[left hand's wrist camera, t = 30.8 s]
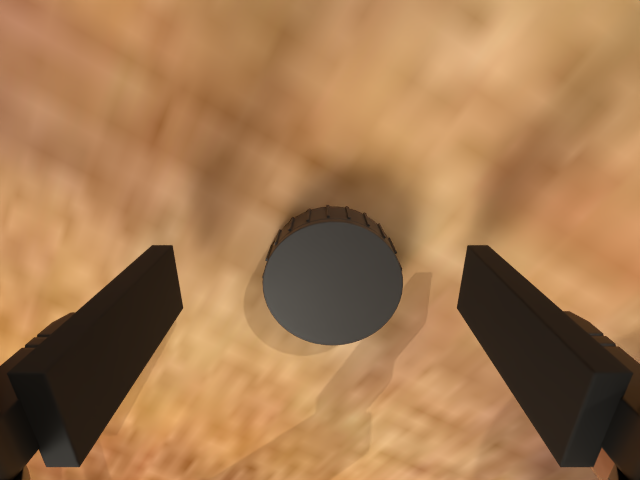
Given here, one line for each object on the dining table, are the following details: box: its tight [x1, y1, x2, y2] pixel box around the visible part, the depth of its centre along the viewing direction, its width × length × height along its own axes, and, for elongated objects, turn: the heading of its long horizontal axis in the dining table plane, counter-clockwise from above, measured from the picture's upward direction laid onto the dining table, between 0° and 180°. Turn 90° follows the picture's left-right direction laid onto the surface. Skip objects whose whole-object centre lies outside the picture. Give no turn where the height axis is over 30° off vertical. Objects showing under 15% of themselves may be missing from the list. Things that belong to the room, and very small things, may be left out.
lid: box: [263, 205, 403, 345], centre depth 15 cm, size 6×6×2 cm
